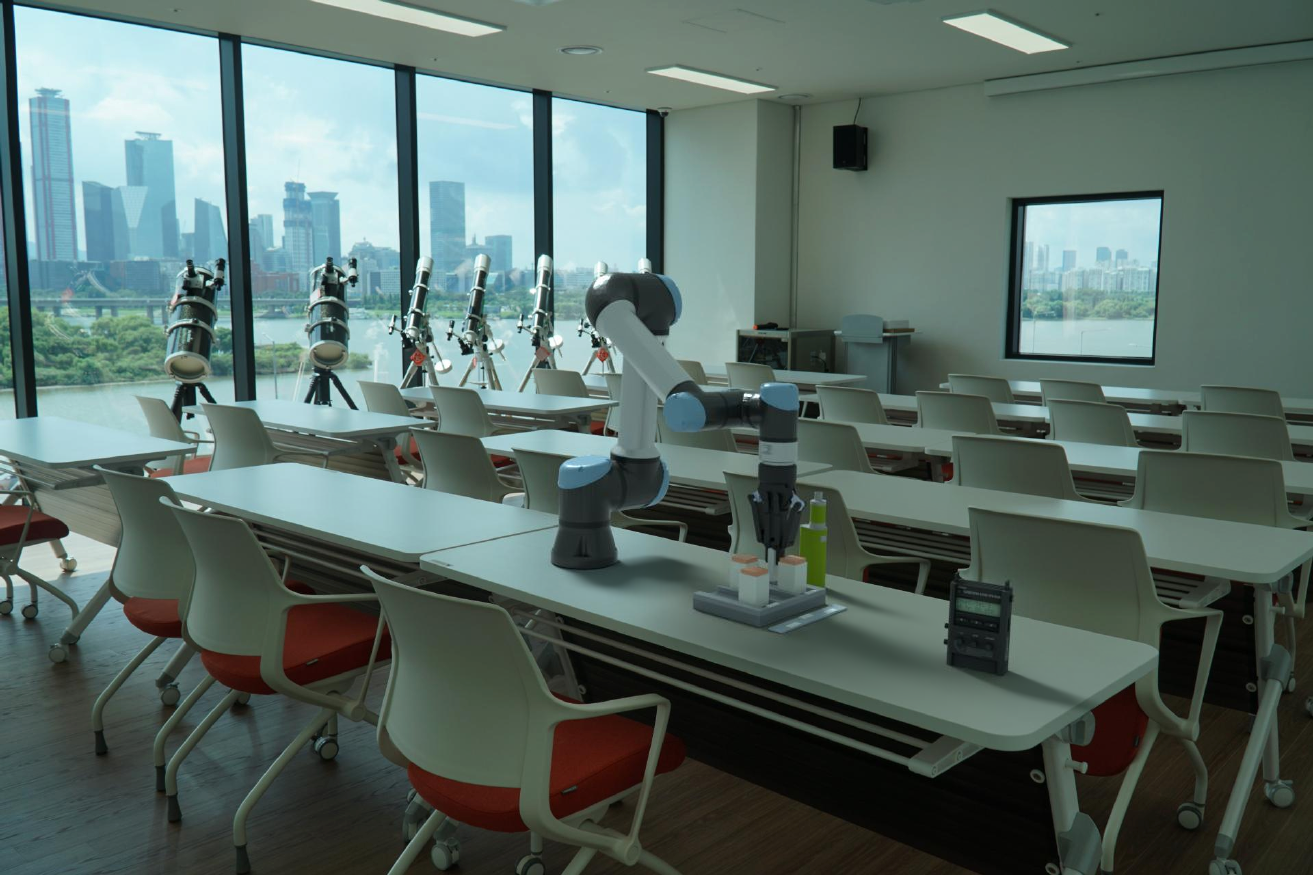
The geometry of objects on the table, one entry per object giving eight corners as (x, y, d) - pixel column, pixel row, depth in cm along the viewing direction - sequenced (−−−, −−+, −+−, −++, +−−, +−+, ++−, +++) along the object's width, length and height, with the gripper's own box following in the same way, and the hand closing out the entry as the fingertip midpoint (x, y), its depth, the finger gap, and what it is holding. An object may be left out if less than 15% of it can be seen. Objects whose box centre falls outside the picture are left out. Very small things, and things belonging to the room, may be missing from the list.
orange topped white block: (738, 604, 186) (739, 568, 185) (751, 600, 189) (752, 565, 188) (755, 608, 183) (756, 572, 183) (768, 604, 186) (769, 569, 186)
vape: (816, 590, 204) (819, 494, 201) (795, 584, 209) (798, 490, 206) (828, 587, 206) (832, 492, 204) (807, 581, 211) (810, 488, 208)
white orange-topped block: (777, 591, 195) (778, 557, 194) (789, 587, 198) (790, 554, 197) (794, 596, 192) (795, 561, 191) (806, 592, 195) (807, 558, 194)
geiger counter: (938, 664, 162) (942, 574, 160) (946, 657, 166) (951, 569, 164) (1003, 678, 156) (1009, 585, 154) (1011, 670, 160) (1017, 579, 158)
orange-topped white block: (729, 590, 195) (730, 556, 194) (742, 586, 198) (743, 553, 197) (745, 594, 193) (746, 560, 192) (758, 590, 195) (759, 556, 195)
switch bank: (692, 608, 191) (693, 592, 190) (760, 587, 206) (760, 572, 206) (759, 627, 180) (760, 609, 180) (825, 603, 195) (825, 587, 195)
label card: (768, 629, 179) (768, 627, 179) (833, 605, 194) (834, 603, 194) (782, 633, 177) (782, 631, 176) (847, 608, 192) (847, 606, 192)
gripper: (739, 460, 196) (736, 577, 199) (793, 468, 187) (789, 590, 190) (762, 456, 202) (759, 570, 205) (816, 464, 193) (812, 582, 196)
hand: (774, 579), depth 198 cm, fingers closed
